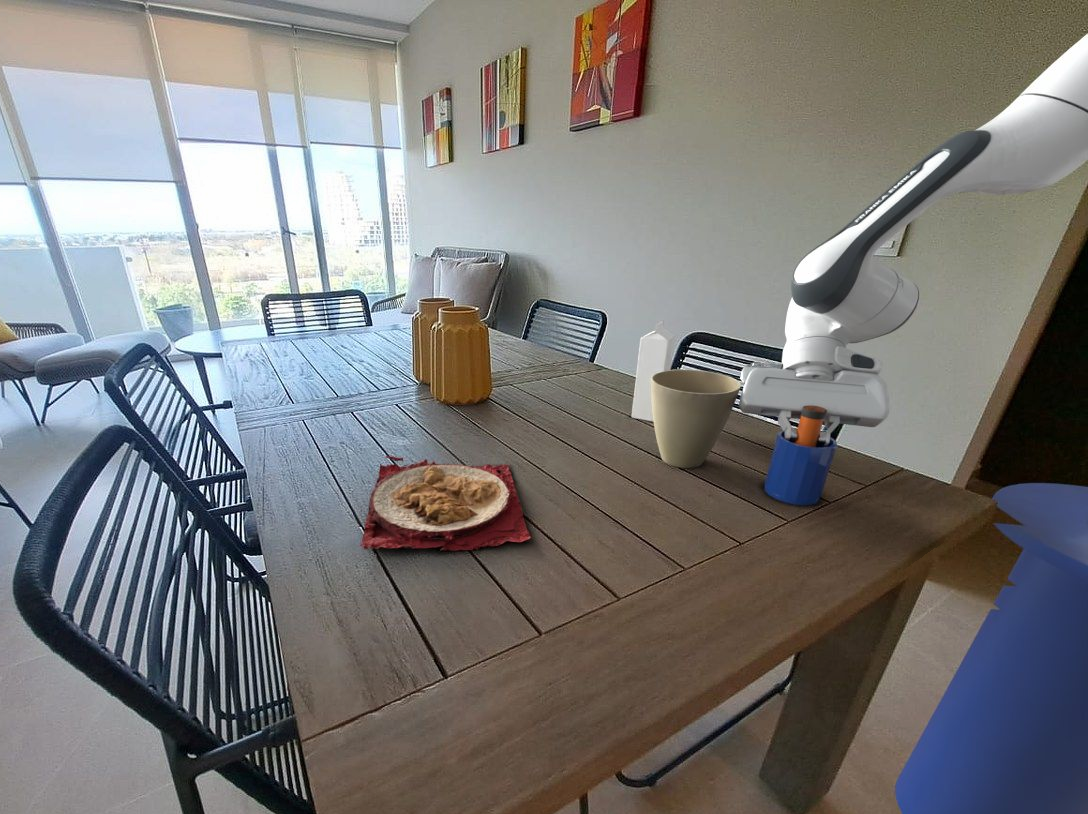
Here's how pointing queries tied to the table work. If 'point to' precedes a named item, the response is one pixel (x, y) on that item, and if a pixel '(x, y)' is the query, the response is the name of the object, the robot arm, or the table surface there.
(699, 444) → the plant pot
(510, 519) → the plate with food
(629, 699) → the table surface
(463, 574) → the table surface
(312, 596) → the table surface
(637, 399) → the milk
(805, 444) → the orange tube bottle
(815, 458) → the cup
